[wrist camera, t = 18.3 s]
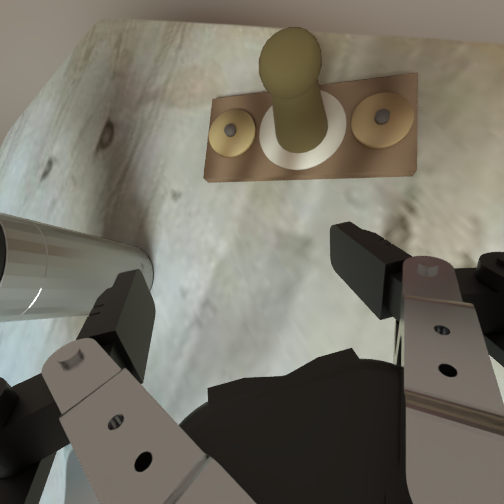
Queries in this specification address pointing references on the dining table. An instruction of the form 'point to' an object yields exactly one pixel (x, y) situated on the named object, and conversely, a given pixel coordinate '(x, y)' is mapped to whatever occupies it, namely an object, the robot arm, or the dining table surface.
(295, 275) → the dining table surface
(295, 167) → the board
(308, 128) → the cork
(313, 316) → the dining table surface
